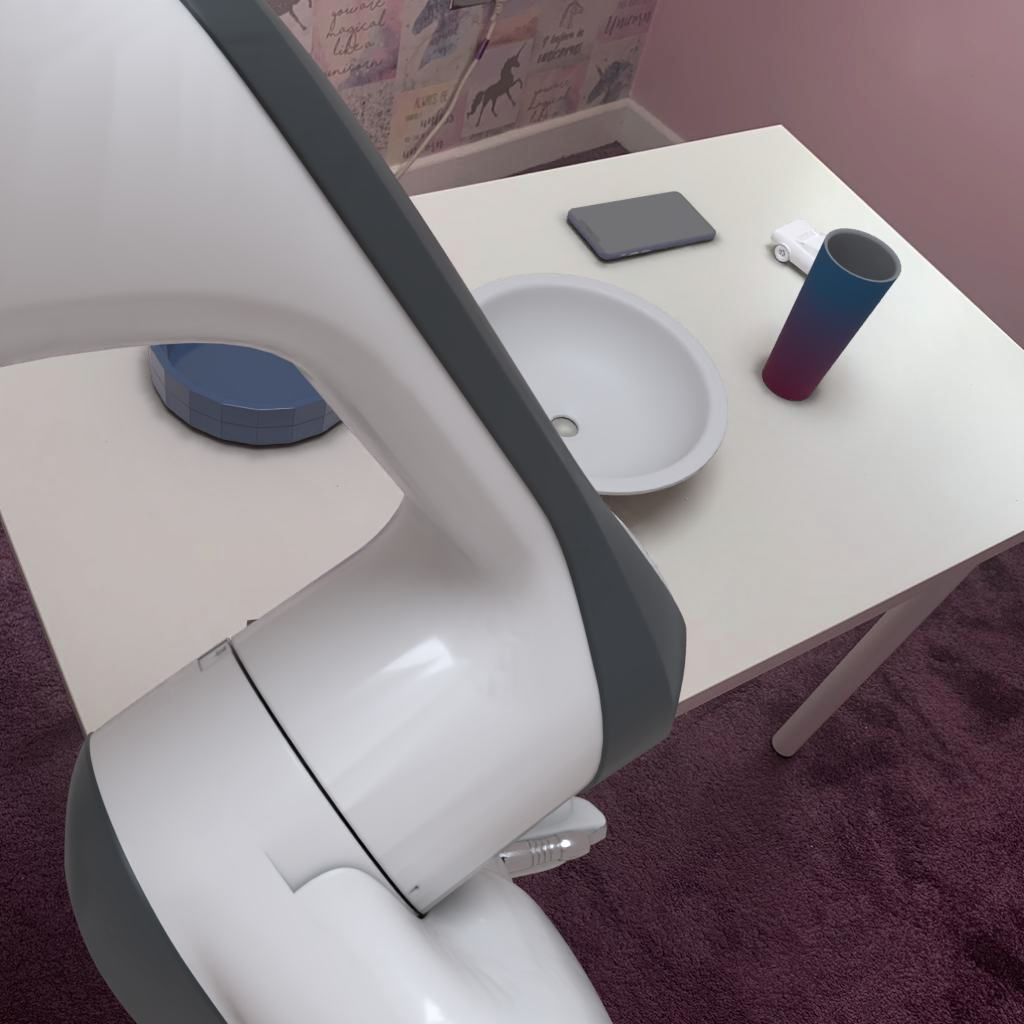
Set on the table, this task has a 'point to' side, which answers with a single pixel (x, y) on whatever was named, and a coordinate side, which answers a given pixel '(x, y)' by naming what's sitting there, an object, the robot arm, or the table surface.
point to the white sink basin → (612, 377)
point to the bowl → (238, 393)
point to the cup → (829, 310)
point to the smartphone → (640, 224)
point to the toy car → (797, 244)
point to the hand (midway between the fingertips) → (316, 764)
